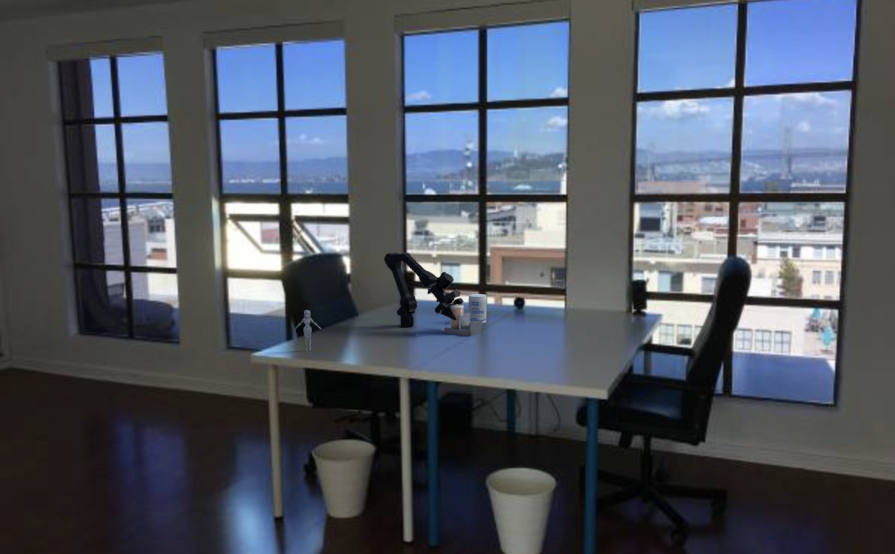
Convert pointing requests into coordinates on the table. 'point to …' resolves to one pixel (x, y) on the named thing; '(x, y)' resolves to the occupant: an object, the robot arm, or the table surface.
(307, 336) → the human figurine
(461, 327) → the follower
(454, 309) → the jar
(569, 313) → the table surface
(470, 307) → the supplement tub
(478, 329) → the lane
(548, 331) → the table surface
